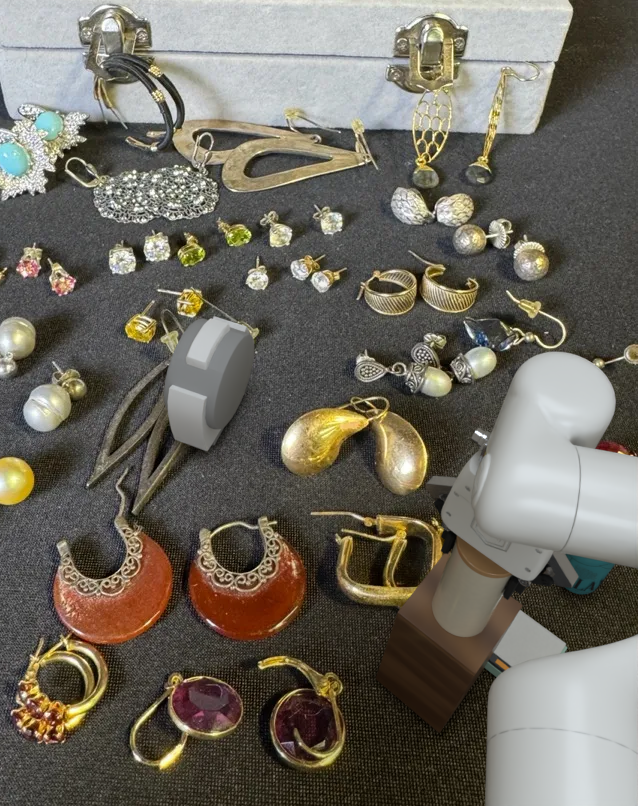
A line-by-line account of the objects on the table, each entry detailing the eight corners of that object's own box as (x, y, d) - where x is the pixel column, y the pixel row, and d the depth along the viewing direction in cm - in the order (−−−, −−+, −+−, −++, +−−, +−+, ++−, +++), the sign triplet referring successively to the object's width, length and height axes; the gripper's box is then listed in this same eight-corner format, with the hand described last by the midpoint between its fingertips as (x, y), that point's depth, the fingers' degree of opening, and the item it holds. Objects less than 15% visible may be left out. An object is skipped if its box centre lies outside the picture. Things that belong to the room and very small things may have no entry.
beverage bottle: (548, 592, 114) (593, 524, 99) (552, 551, 118) (596, 479, 103) (596, 606, 112) (649, 540, 97) (598, 564, 117) (650, 494, 102)
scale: (530, 704, 104) (536, 697, 102) (472, 658, 108) (476, 650, 105) (563, 652, 108) (569, 644, 106) (505, 610, 112) (510, 601, 110)
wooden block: (439, 733, 101) (475, 674, 85) (375, 678, 106) (397, 612, 89) (481, 672, 106) (523, 605, 90) (418, 622, 111) (447, 549, 94)
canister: (470, 651, 86) (505, 589, 74) (419, 611, 89) (444, 545, 77) (501, 605, 90) (539, 539, 78) (451, 568, 93) (479, 499, 81)
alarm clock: (213, 368, 140) (208, 287, 125) (258, 384, 138) (258, 303, 123) (165, 449, 129) (154, 371, 114) (213, 467, 127) (208, 390, 112)
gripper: (415, 441, 70) (389, 538, 83) (601, 567, 62) (539, 651, 76) (462, 390, 74) (430, 490, 87) (643, 502, 66) (577, 593, 80)
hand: (481, 564), depth 81 cm, fingers closed on canister, 6 cm apart
